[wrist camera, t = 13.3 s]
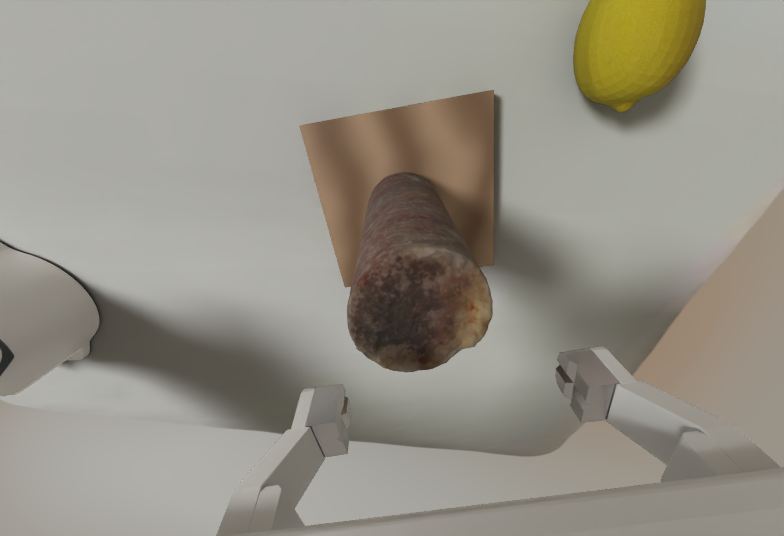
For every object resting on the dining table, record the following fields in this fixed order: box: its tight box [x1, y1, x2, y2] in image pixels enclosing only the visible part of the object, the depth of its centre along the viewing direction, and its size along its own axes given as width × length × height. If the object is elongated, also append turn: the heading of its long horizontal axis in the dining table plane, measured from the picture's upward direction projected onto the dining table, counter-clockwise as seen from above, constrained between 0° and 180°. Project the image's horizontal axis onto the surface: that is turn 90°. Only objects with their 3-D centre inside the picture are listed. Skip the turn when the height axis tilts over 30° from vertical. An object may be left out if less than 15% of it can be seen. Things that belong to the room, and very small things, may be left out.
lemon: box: [573, 0, 706, 113], centre depth 23 cm, size 11×8×8 cm
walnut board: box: [300, 90, 494, 287], centre depth 32 cm, size 18×18×2 cm
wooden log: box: [347, 172, 493, 372], centre depth 23 cm, size 8×7×20 cm
